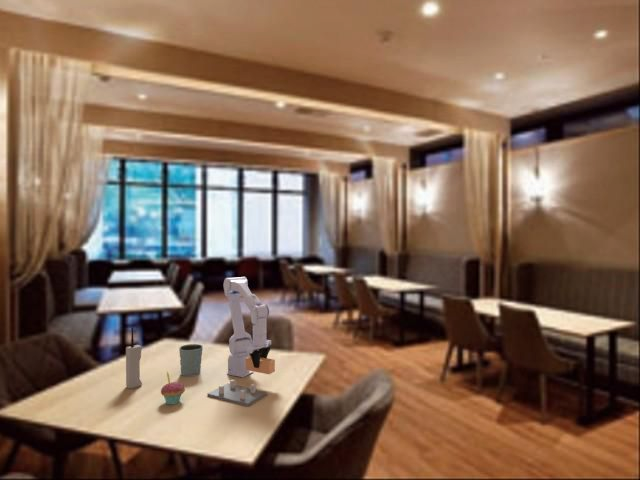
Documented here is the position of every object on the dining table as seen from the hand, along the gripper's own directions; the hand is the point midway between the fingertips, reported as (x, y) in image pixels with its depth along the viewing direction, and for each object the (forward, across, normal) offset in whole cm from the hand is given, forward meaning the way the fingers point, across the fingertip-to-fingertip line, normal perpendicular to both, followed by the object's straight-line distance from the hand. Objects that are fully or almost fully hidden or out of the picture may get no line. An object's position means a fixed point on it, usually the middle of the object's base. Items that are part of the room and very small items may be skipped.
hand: (259, 365), depth 169 cm
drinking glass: (+9, -2, +37) cm, 38 cm away
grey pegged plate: (+8, -12, +2) cm, 15 cm away
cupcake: (+9, -28, +20) cm, 36 cm away
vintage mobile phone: (+9, -25, +46) cm, 53 cm away
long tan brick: (+2, 0, 0) cm, 2 cm away
